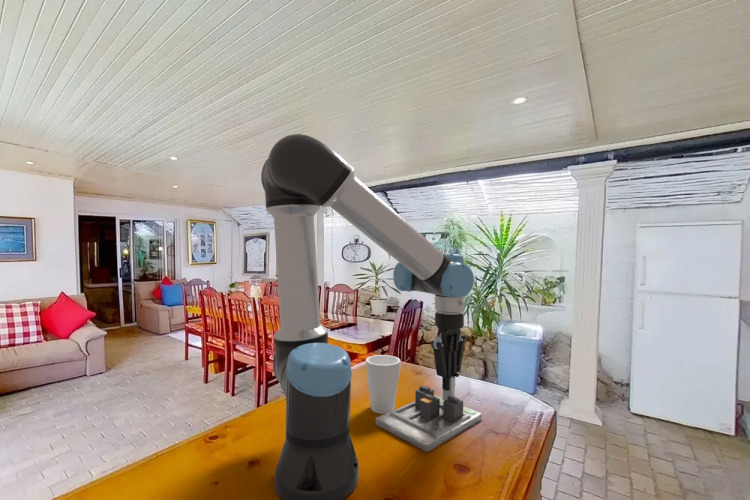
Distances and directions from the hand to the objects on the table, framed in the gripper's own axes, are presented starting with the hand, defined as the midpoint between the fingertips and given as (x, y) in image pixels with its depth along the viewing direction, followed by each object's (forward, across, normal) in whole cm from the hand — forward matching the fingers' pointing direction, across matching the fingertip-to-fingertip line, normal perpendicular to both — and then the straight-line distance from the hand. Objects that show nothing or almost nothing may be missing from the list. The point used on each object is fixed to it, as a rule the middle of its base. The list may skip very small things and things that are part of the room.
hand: (448, 401), depth 91 cm
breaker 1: (+1, -4, +4) cm, 6 cm away
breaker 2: (+1, -8, 0) cm, 8 cm away
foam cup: (+3, -12, +13) cm, 18 cm away
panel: (+3, -8, 0) cm, 8 cm away
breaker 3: (+1, -4, -5) cm, 6 cm away
